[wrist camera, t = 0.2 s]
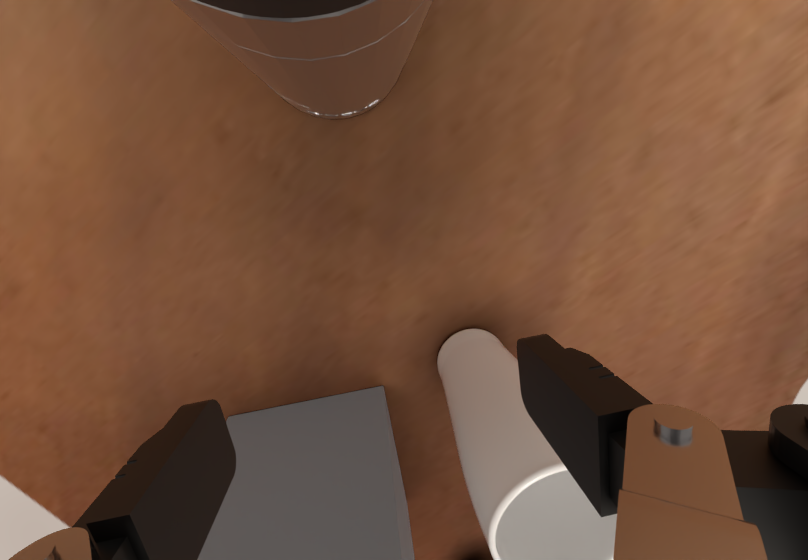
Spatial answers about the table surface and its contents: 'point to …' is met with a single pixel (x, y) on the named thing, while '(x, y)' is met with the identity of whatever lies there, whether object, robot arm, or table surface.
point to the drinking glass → (514, 461)
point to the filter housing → (314, 484)
